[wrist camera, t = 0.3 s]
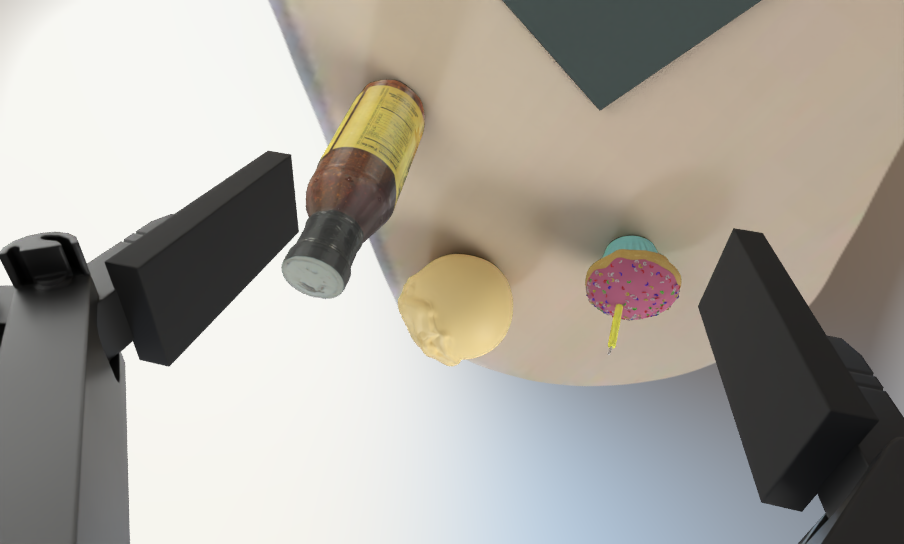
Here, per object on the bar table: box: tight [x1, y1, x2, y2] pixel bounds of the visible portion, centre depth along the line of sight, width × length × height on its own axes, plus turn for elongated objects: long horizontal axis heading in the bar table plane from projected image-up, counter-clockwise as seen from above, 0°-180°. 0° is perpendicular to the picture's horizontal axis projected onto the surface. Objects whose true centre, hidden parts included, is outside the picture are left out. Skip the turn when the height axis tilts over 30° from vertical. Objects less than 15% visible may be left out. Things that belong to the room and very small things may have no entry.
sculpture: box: [398, 254, 513, 366], centre depth 55 cm, size 12×12×11 cm
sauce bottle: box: [282, 79, 425, 299], centre depth 37 cm, size 7×6×20 cm
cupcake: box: [585, 236, 681, 355], centre depth 47 cm, size 9×8×12 cm
